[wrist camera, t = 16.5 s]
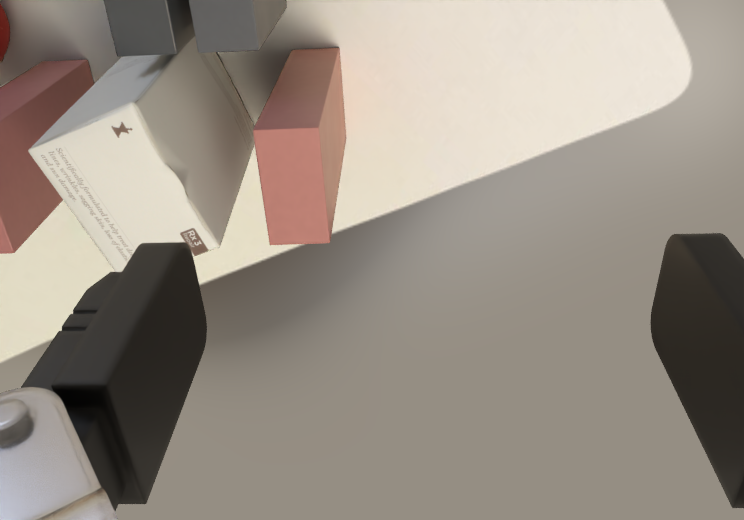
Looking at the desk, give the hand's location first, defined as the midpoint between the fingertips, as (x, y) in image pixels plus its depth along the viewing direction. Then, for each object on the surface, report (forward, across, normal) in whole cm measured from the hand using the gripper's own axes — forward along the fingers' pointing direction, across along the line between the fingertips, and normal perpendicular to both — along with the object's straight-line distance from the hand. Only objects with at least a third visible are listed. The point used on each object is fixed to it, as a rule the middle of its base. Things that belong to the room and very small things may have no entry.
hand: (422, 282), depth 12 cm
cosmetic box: (+33, +14, +8) cm, 37 cm away
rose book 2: (+33, +6, +8) cm, 35 cm away
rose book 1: (+33, +22, +8) cm, 40 cm away
